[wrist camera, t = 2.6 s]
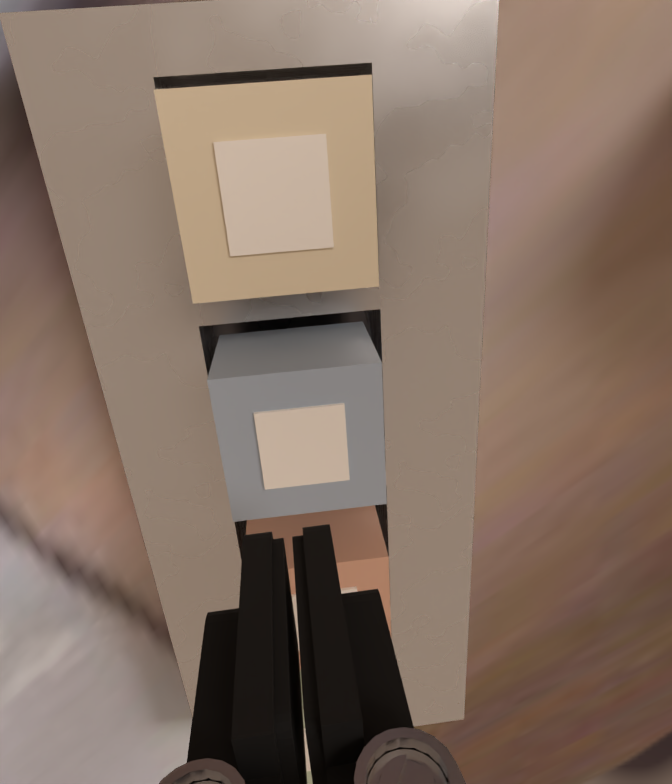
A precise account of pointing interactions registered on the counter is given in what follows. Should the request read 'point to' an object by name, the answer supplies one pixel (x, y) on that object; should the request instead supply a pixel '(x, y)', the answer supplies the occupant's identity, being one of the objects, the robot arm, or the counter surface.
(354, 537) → the key
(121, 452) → the keyguard pad
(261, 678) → the robot arm
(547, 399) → the counter surface
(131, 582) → the counter surface
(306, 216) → the key
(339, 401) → the key
